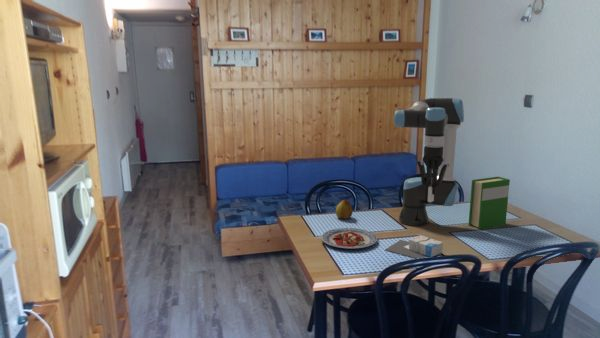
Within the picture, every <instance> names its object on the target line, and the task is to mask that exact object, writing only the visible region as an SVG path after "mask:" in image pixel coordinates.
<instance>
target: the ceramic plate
mask: <svg viewBox="0 0 600 338" xmlns="http://www.w3.org/2000/svg"><path fill="white" fill-rule="evenodd" d="M320 238H321V240H322V242H323V243H325V244H326V245H329V246H332V247H335V248H341V249H348V250H349V249H351V250H352V249H363V248H367V247H370V246H372V245H374V244H376V243H377V240H378V237H377V236H376V234H374V233H373V232H371V231H368V230H366V229H361V228H354V227H340V228H333V229H330V230H327V231H325V232H323V233H322V234H321V237H320Z"/></svg>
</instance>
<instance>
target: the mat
mask: <svg viewBox="0 0 600 338" xmlns="http://www.w3.org/2000/svg"><path fill="white" fill-rule="evenodd" d="M407 245H409V241H407V240H403V239H400V240H398V241H397V242H394V243H393V244H391V245H390V246H388V247H387V248H385V249H384V251H385V250H386V251H387V252H389V251H390V253H393V254H396V253H397V255H400V254H401V255H400V256H404V257H407V256H408V258H412V259H415V260H417V259H416V258H425V257H429V256H426V255H423V254H420V253H417V252H415V251H412V250H409V249H407V248H405V247H404V246H407ZM386 251H385V252H386Z"/></svg>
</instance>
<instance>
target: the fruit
mask: <svg viewBox="0 0 600 338" xmlns="http://www.w3.org/2000/svg"><path fill="white" fill-rule="evenodd" d="M335 214H336V216H337V218H339V219H340V220H342V219H343V220H347V219H350V218H351V217H352V215H353V207H352V205H351V202H350V201H349V200H348V197H346V198H345V199H342V200H341V201H340V202H339V203H338V204H337V205H336V208H335Z"/></svg>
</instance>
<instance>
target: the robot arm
mask: <svg viewBox="0 0 600 338" xmlns="http://www.w3.org/2000/svg"><path fill="white" fill-rule="evenodd" d="M464 114H465V111H464V103H463V99H460V98H455V97H454V98H453V97H452V98H450V97H447V98H444V97H443V98H440V97H438V98H437V97H435V98H434V97H433V98H432V97H429V98H424V99H421V100H418V101H416V102H413V104H412V105H411V107H409V108H407V109H397V110H395V112H394V116H393V124H394V126H395V127H396V128H397V127H398V128H410V129H411V128H415V129H417V128H418V129H424V142H423V144H424V147H423V157H422V159H421V160H418V161H417V162H416V164H417V166H418V168H419V174H420V176H419V177H417V176H416V177H410V178H407V179H405V181H404V183H403V188H402V189H403V190H402V191H403V195H402V196H403V197H402V208H401V211H400V213H399V216H398V221H399V223H402V224H404V225H407V226H412V227H413V226H414V227H418V226H419V227H420V226H422V227H423V226H425V225H428V224H429V221H430V219H429V215H428V212H427V206H426V205H433V206H443V207H452V206H454V205H455V203H456V200H457V199H456V198H457V195H458V191H459V184H458V183H457V180H456V179H455V177H454V171H455V170H454V168H455V156H456V154H455V153H456V146H457V131H458V129H459V128H460V126H461V124H462V123H464V122H465V115H464ZM425 166H426V167H425Z"/></svg>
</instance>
